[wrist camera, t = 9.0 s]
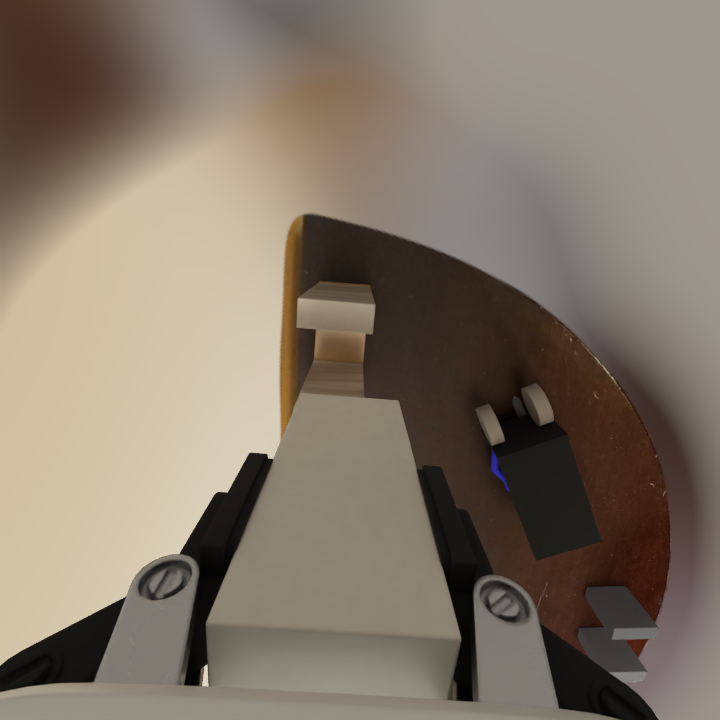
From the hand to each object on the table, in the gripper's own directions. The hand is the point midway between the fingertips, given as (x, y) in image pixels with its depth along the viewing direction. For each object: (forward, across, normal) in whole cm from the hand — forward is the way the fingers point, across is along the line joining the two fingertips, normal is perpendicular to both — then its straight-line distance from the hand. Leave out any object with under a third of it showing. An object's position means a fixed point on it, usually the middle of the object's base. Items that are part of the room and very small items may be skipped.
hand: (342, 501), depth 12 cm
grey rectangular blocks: (+23, -32, +31) cm, 51 cm away
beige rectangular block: (+6, 0, 0) cm, 6 cm away
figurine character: (+24, -18, +10) cm, 31 cm away
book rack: (+23, +1, 0) cm, 24 cm away
